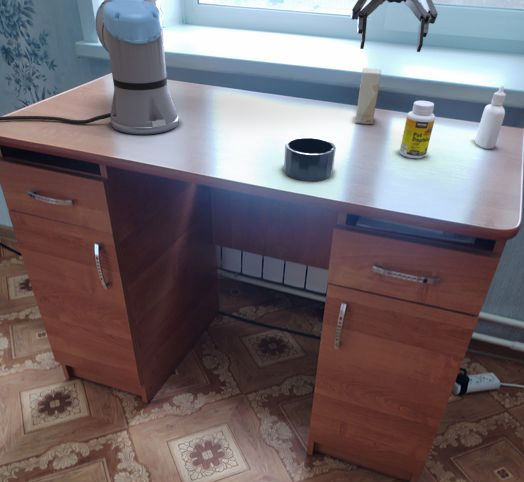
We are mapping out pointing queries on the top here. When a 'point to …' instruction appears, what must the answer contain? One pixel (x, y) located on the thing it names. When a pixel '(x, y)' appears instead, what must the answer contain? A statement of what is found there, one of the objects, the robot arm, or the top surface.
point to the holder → (309, 158)
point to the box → (368, 95)
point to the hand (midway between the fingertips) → (390, 46)
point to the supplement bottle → (418, 130)
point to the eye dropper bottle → (491, 121)
